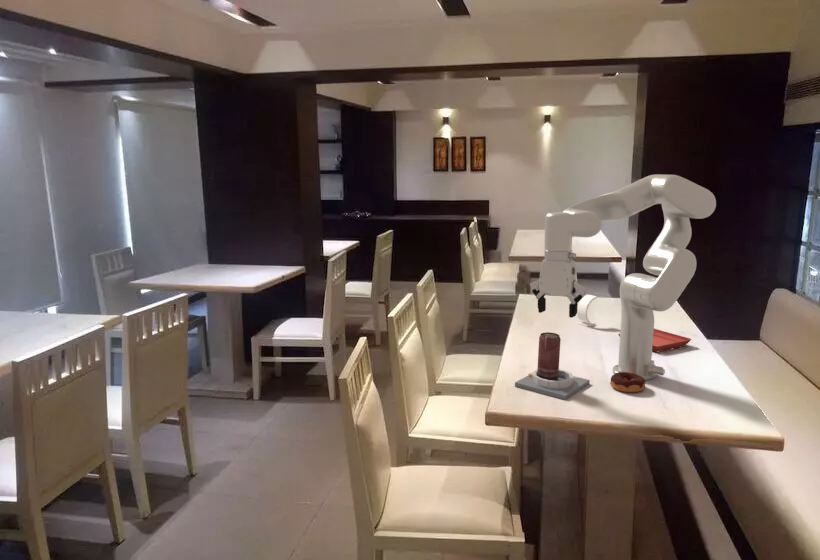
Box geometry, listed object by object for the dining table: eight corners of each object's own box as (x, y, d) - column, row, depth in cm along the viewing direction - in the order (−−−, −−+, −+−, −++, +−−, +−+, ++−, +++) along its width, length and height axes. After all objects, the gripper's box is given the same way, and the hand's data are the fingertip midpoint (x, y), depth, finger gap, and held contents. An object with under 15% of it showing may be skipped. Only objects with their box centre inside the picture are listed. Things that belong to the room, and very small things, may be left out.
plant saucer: (616, 342, 218) (617, 333, 218) (650, 335, 226) (651, 327, 226) (656, 355, 203) (657, 346, 202) (691, 348, 211) (692, 339, 210)
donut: (617, 379, 179) (617, 367, 179) (650, 387, 173) (651, 374, 172) (604, 389, 172) (605, 376, 171) (638, 397, 166) (639, 384, 165)
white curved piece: (595, 325, 240) (597, 296, 238) (584, 327, 237) (586, 298, 235) (587, 322, 244) (588, 294, 242) (576, 324, 241) (577, 296, 239)
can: (534, 381, 174) (537, 336, 171) (539, 374, 180) (542, 330, 177) (555, 385, 171) (558, 338, 169) (559, 378, 177) (562, 333, 174)
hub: (589, 383, 176) (589, 373, 175) (565, 399, 164) (565, 388, 163) (541, 372, 186) (541, 362, 185) (514, 386, 174) (515, 376, 173)
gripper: (592, 256, 165) (591, 315, 168) (537, 251, 176) (536, 307, 179) (581, 260, 159) (579, 321, 162) (524, 255, 170) (524, 312, 174)
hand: (557, 314), depth 171 cm, fingers open, 9 cm apart
